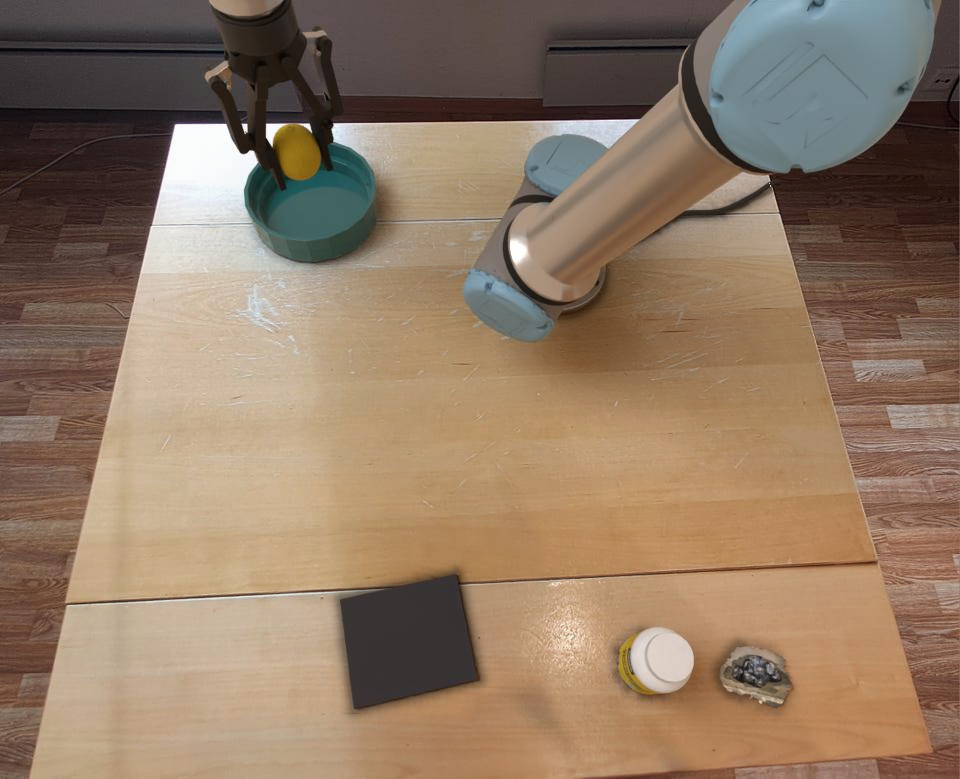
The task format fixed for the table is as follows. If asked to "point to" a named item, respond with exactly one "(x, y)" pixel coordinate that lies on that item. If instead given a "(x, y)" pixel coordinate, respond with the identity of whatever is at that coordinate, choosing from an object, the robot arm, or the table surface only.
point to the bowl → (315, 208)
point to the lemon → (296, 151)
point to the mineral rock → (756, 675)
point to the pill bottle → (655, 661)
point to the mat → (406, 641)
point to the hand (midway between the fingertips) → (303, 172)
